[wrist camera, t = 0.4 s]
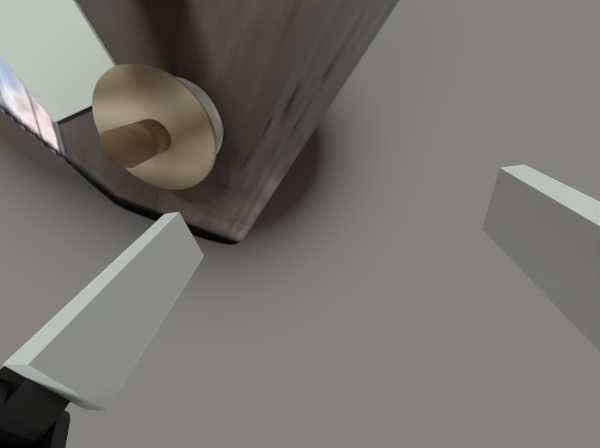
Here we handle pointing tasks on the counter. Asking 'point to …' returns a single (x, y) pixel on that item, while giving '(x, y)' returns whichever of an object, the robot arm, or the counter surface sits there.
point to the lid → (153, 126)
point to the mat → (53, 53)
